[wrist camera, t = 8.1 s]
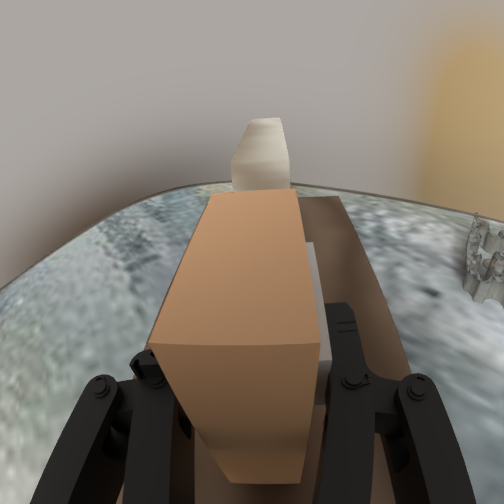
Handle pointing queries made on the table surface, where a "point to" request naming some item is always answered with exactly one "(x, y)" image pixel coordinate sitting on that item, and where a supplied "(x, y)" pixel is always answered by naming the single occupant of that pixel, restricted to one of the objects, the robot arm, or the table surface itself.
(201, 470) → the board
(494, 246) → the grey castle ruin
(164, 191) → the table surface
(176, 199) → the table surface
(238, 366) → the stub
